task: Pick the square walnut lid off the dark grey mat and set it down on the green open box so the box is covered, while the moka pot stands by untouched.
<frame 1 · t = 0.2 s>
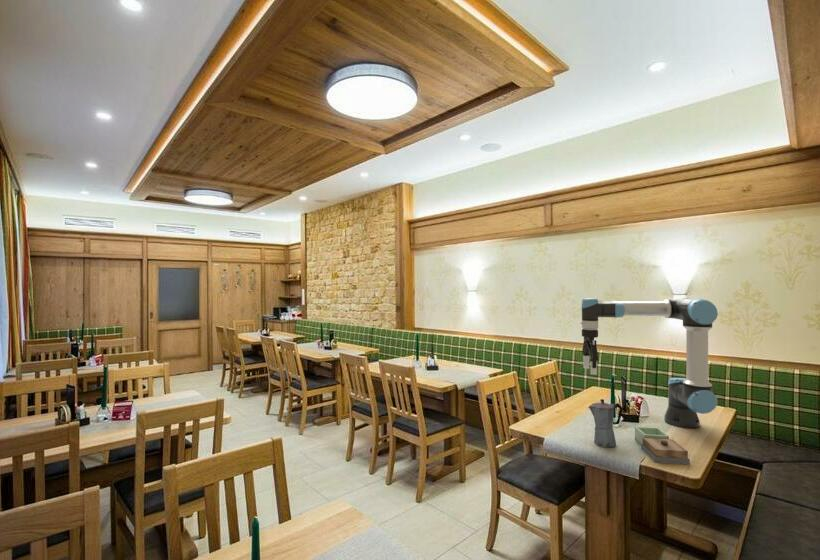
hand: (589, 371, 200), 28 cm above the table, fingers open, 13 cm apart
lid: (664, 451, 167), point 2 cm above the table, touching mat
moka pot: (605, 444, 180), on the table
mat: (664, 456, 167), on the table
green open box: (651, 444, 179), on the table
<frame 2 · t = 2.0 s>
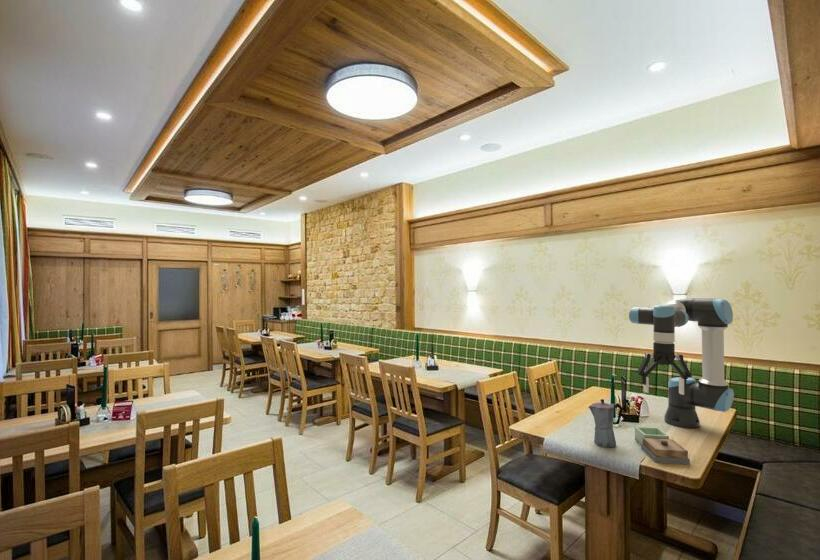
hand: (663, 393, 167), 26 cm above the table, fingers open, 13 cm apart
nothing on the table moved.
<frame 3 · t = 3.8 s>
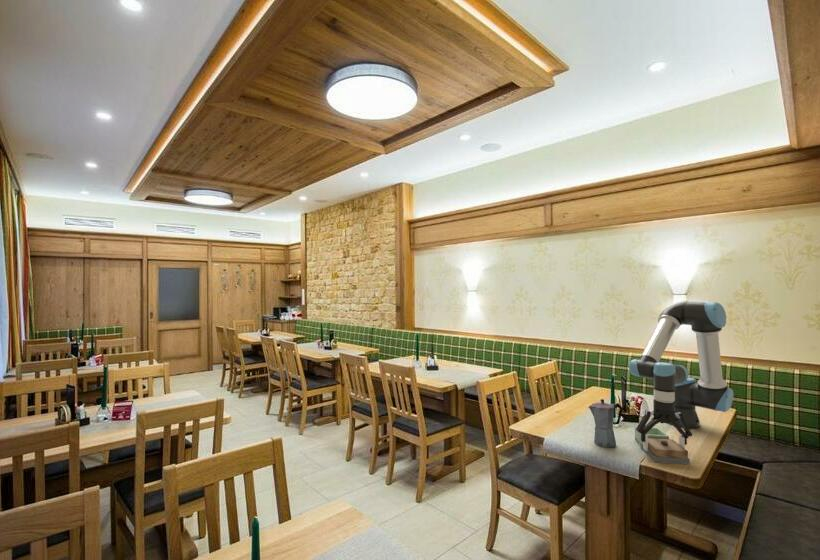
hand: (663, 451, 167), 2 cm above the table, fingers open, 13 cm apart
nothing on the table moved.
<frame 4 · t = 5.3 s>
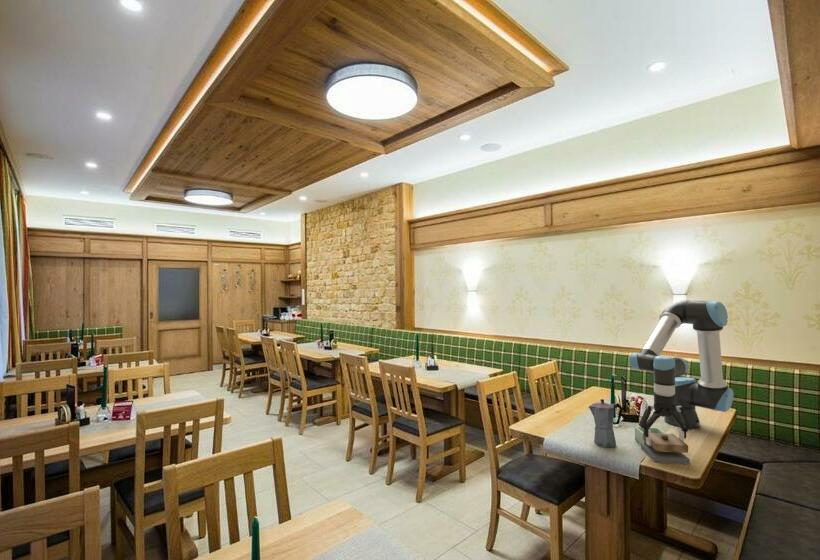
hand: (664, 445, 167), 4 cm above the table, fingers closed on lid, 12 cm apart
lid: (664, 445, 167), point 4 cm above the table, touching gripper
everything else where it was.
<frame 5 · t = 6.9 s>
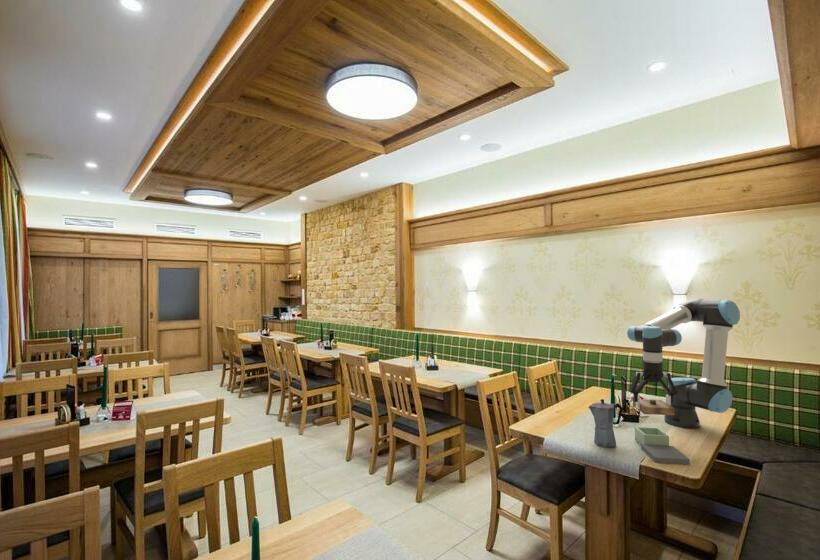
hand: (652, 409, 178), 16 cm above the table, fingers closed on lid, 12 cm apart
lid: (652, 410, 178), point 16 cm above the table, touching gripper
everything else where it was.
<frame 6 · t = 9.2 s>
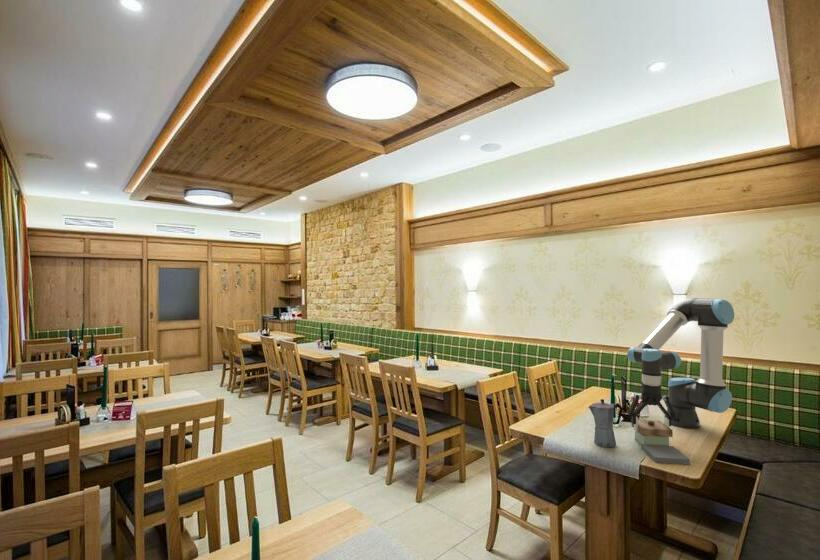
hand: (651, 432, 179), 6 cm above the table, fingers closed on lid, 12 cm apart
lid: (651, 431, 179), point 6 cm above the table, touching green open box, gripper
everything else where it was.
when the fingers open (6 cm above the table, at t = 9.7 s): lid stays where it is, resting on green open box.
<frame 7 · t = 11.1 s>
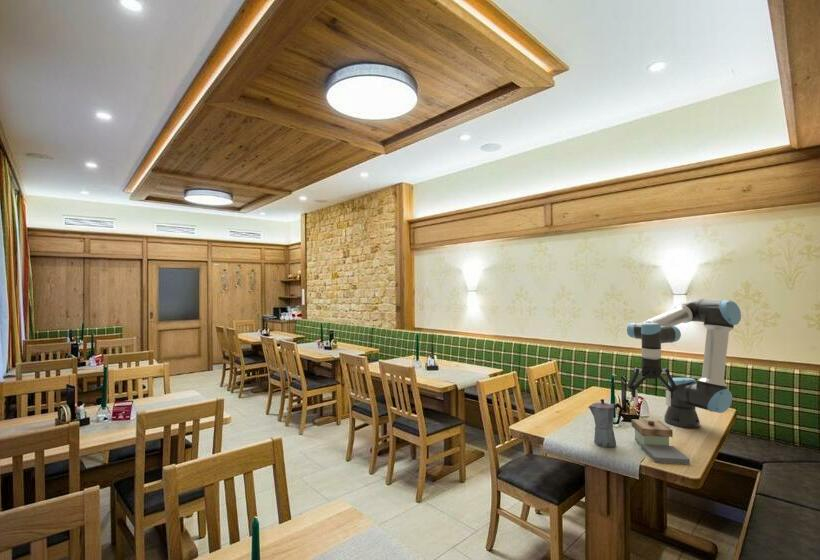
hand: (651, 405, 179), 18 cm above the table, fingers open, 13 cm apart
lid: (651, 431, 179), point 6 cm above the table, touching green open box
everything else where it was.
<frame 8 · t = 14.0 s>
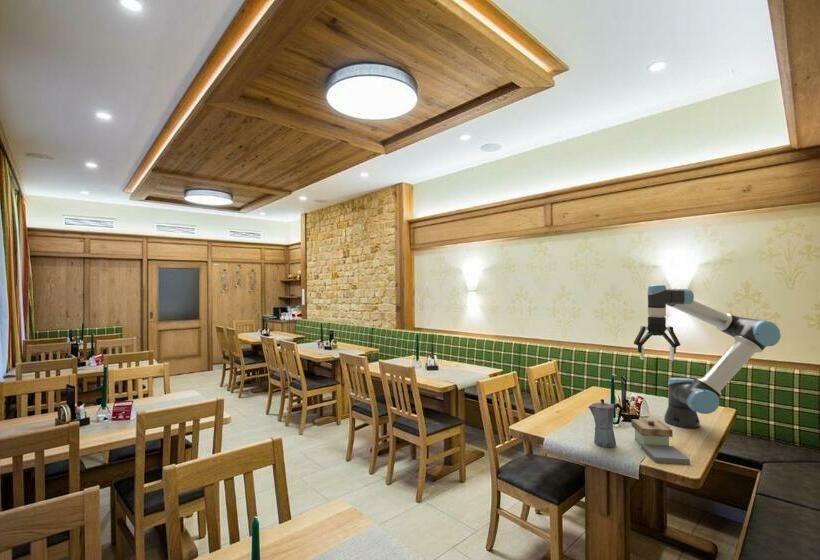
hand: (656, 359, 195), 35 cm above the table, fingers open, 13 cm apart
nothing on the table moved.
at the end: lid 0.1 cm off-centre on the green open box, point 6.0 cm above the green open box's base; lid tilted 0°; the gripper is holding nothing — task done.
